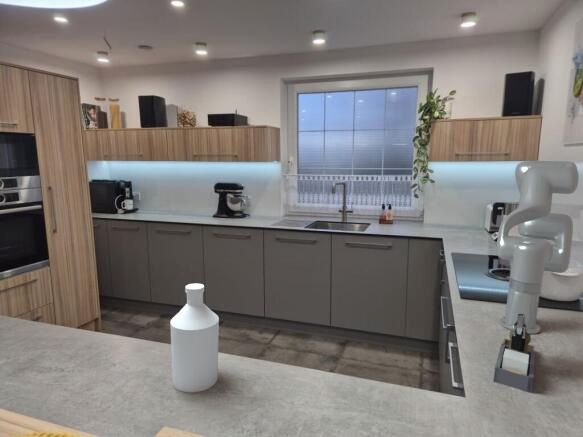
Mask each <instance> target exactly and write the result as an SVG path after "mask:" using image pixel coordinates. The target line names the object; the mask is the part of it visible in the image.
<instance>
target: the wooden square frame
mask: <svg viewBox="0 0 583 437" xmlns="http://www.w3.org/2000/svg"><path fill="white" fill-rule="evenodd" d="M510 342H511V339H508V338H503V341H502V344H505V345H509V346H510ZM535 348H536V346H535V345H531V344H528V350H529V351H533V352H536V350H535Z"/></svg>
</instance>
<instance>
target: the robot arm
mask: <svg viewBox="0 0 583 437" xmlns="http://www.w3.org/2000/svg"><path fill="white" fill-rule="evenodd" d="M514 175H515V182H516V185H517V189H518V192H519V199H518V200H519V201H518V207H517V208H516V209H514V210H513V211H511V212H510V213H509V214H508V215H506V216H505V217H504V218H503V220H502V222H501V224H500V226H499V228H498V232H497V233H498V234H497V238H496V240H497V241H496V246H495V252H496V255H497V256H498V258H499V259H502V260H504V261H509V263H510V264H509V265H510V266H509V267H510V268H509V269H510V271H509V280H508V281H509V282H508V292H507V297H506V305H505V306H506V307H505V308H506V309H505V315H504V316H503V317H501V318H500V319H499V324H500V325H501V326H503V327H504V328H506V329H508V330H510V331H512V330H514V331H513V334H512V339H510V340H511V349H514V350H518V351H522V352H523V351H524V347H525V339H526V338H525V331H526V332H527V333H529V334H530V335H533V334H538V333H540V332H541V327H540V325H539V324H537V315H538V308H539V302H540V300H539V299H540V296H541V293H542V287H543V277H544V272H549V273H550V272H551V273H558V274H561V273H565V272H567V270H568V269H569V266H570V262H571V253H572V252H571V251H572V243H573V235H574V234H573V233H574V232H573V231H574V222H573V220H572V217H571V216H569V215H568V214H565V213H558V212H557V213H556V212H555V213H554V212H551V210H552V204H553V203H552V201H553V194H559V195H560V194H562V195H570V194H573V193H574V192H576V190H577V188H578V185H579V177H580V176H579V169H578V166H577V165H576V163H575V162H574V161H568V160H567V161H566V160H563V161H562V160H559V161H558V160H525V161H522V162H520V163H518V164H516V166H515V171H514ZM516 226H517V232H518V234H519V235H520V236H518V235H517V236H516V235H515V236H514V235H509V233H510V231H511V229H513V228H514V227H516ZM549 241H552V242H554V243H555V244H552V243H551V242H549Z"/></svg>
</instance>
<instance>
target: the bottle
mask: <svg viewBox="0 0 583 437" xmlns="http://www.w3.org/2000/svg"><path fill="white" fill-rule="evenodd" d="M184 291H185V293H186V304H185V305H184V306H183V307H182V308H181V309H180V311H179V312H177V313H176V314H175V315H174V316H173V317H172V319H171V320H170V344H171V345H170V349H171V375H172V376H171V377H172V378H171V379H172V380H171V381H172V386H173V388H175V389H176V390H178V391H180V392H184V393H199V392H202V391H205V390H208V389H210V388H212V387H213V386H214V385H215V384H216V383H217V381H218V376H219V375H218V374H219V373H218V368H219V367H218V366H219V332H220V330H219V329H220V325H219V322H220V318H219V316H218V315H217V314H216V313H215V312H214V311H212V310H211V308H209V307H208V306H207V305H206V304H205V303H204V292H205V285H204V284H202V283H189V284H187V285H185V289H184Z"/></svg>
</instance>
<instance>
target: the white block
mask: <svg viewBox="0 0 583 437" xmlns="http://www.w3.org/2000/svg"><path fill="white" fill-rule="evenodd" d="M528 360H529V355H528V354H524V353H520V352H517V351H513V350H509V349H505V352H504V356H503V363H502V369H506V370H507V369H508V370H511V371H515V372H518V373H521V374H523V375H526V376H527V368H528Z"/></svg>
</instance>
